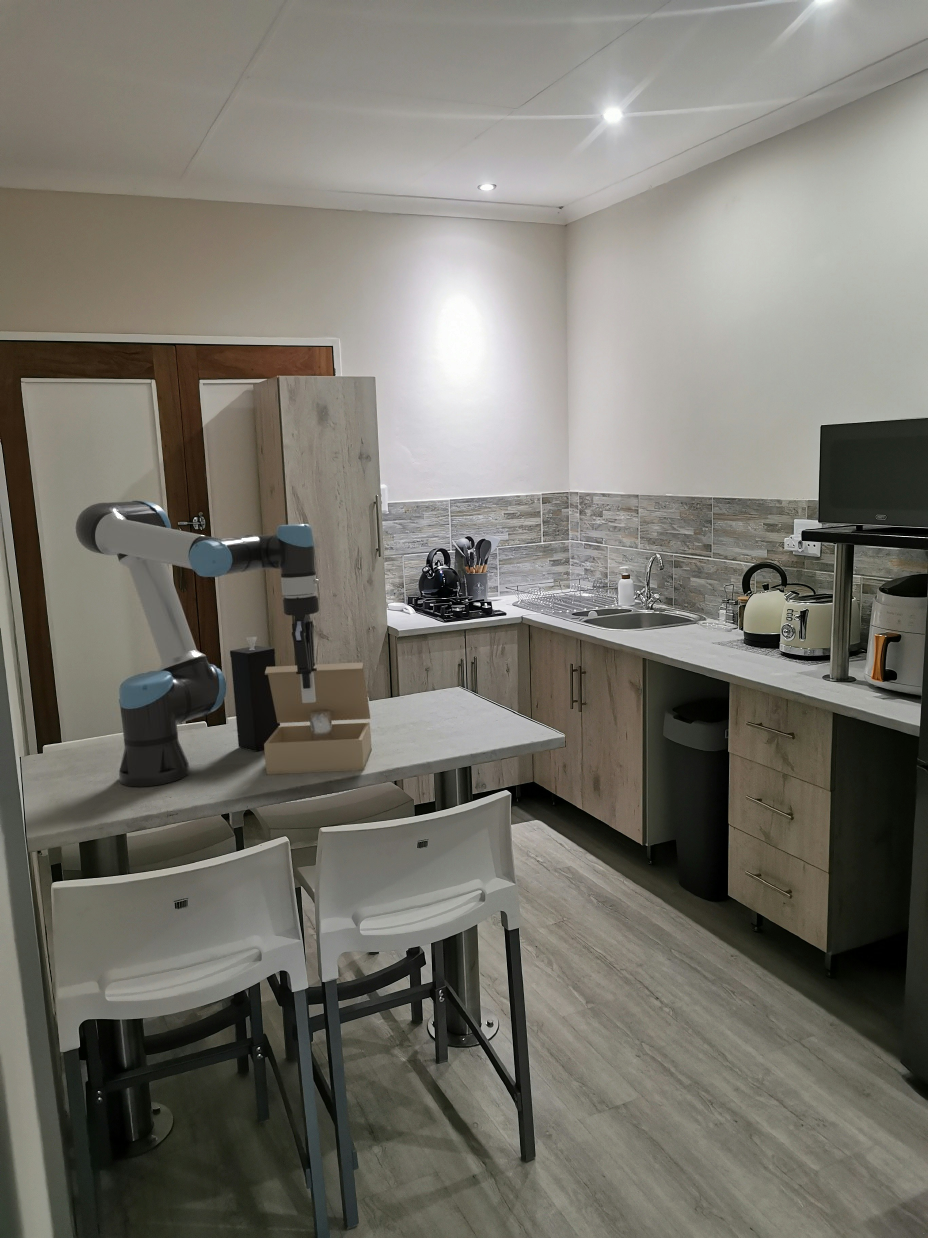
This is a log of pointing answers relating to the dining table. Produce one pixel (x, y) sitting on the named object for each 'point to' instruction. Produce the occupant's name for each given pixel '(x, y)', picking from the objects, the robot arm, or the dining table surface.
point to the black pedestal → (253, 695)
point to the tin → (321, 725)
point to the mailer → (318, 749)
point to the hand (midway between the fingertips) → (309, 701)
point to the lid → (320, 692)
